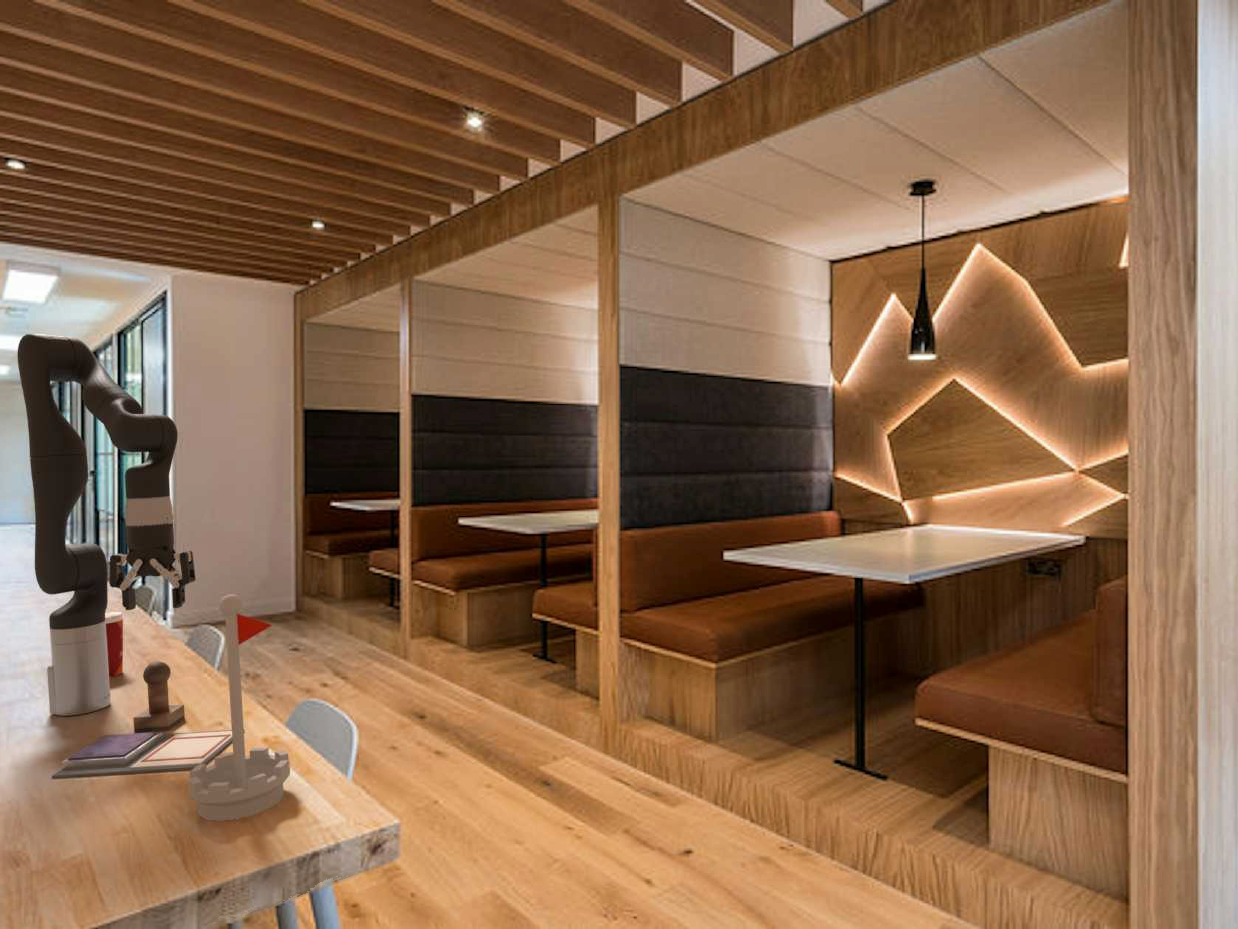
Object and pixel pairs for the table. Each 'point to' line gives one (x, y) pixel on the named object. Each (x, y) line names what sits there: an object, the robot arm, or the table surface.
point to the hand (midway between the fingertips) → (154, 608)
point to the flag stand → (238, 745)
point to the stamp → (158, 702)
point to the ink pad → (112, 750)
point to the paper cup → (114, 642)
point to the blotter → (165, 755)
